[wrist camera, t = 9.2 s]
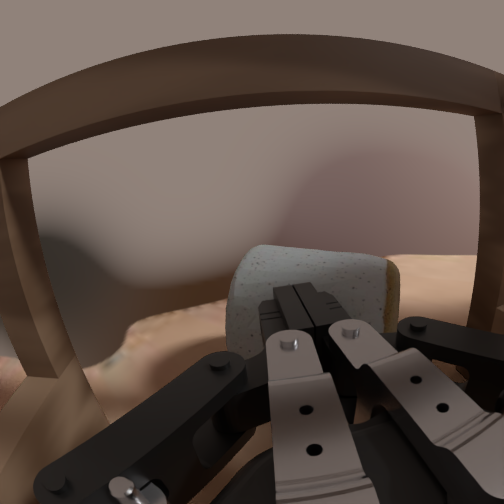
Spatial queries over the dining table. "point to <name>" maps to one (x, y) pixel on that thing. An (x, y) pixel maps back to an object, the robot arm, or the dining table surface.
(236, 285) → the ceramic mug
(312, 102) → the wooden arch frame
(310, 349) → the robot arm
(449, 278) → the dining table surface
